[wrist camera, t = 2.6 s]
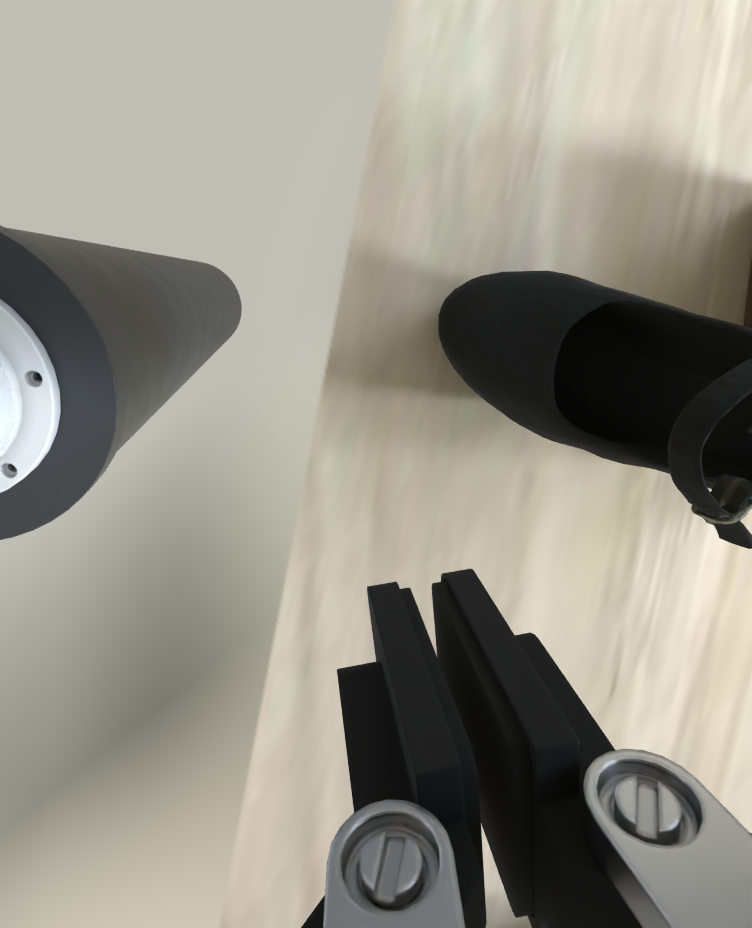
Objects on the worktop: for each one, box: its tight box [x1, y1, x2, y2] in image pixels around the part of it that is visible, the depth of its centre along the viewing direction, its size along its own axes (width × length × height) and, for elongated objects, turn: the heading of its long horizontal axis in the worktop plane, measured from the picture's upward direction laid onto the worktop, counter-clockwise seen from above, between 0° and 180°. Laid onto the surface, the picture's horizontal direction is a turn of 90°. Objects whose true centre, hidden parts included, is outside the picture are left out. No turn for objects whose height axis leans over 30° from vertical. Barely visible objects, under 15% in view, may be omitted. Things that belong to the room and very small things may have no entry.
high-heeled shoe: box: [438, 271, 752, 549], centre depth 23 cm, size 8×19×20 cm, turn 73°
